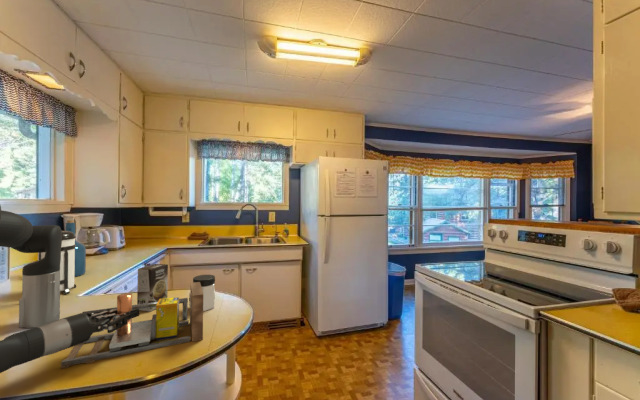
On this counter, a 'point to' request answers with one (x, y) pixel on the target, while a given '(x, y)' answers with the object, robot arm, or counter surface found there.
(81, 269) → the teal bottle
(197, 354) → the counter surface
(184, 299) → the handrail
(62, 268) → the coffee press
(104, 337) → the track
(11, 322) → the counter surface
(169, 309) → the supplement box
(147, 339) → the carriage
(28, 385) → the counter surface
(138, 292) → the coffee box
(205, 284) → the jar
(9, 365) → the robot arm
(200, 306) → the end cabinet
